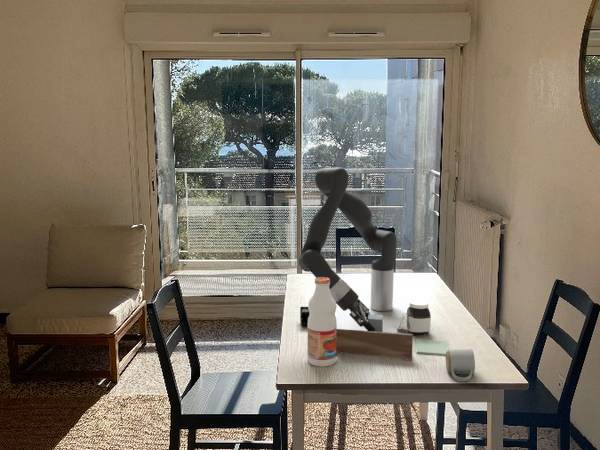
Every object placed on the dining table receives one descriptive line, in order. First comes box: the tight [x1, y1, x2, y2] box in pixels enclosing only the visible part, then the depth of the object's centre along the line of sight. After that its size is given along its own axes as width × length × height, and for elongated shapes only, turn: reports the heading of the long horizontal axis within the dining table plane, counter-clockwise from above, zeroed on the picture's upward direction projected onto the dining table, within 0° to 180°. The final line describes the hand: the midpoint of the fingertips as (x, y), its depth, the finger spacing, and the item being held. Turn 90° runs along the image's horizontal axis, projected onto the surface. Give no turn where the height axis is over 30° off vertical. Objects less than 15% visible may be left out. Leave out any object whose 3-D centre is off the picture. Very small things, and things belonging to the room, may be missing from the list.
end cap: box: [299, 306, 310, 328], centre depth 225 cm, size 10×7×7 cm
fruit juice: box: [307, 277, 338, 367], centre depth 188 cm, size 9×9×28 cm
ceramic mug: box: [445, 348, 476, 382], centre depth 180 cm, size 11×8×8 cm
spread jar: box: [396, 299, 432, 336], centre depth 216 cm, size 12×11×12 cm
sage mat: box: [416, 338, 450, 356], centre depth 202 cm, size 12×11×1 cm
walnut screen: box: [336, 328, 414, 361], centre depth 195 cm, size 5×26×8 cm, turn 79°
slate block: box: [367, 313, 384, 332], centre depth 205 cm, size 5×5×10 cm
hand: (374, 327), depth 204 cm, fingers open, 8 cm apart
